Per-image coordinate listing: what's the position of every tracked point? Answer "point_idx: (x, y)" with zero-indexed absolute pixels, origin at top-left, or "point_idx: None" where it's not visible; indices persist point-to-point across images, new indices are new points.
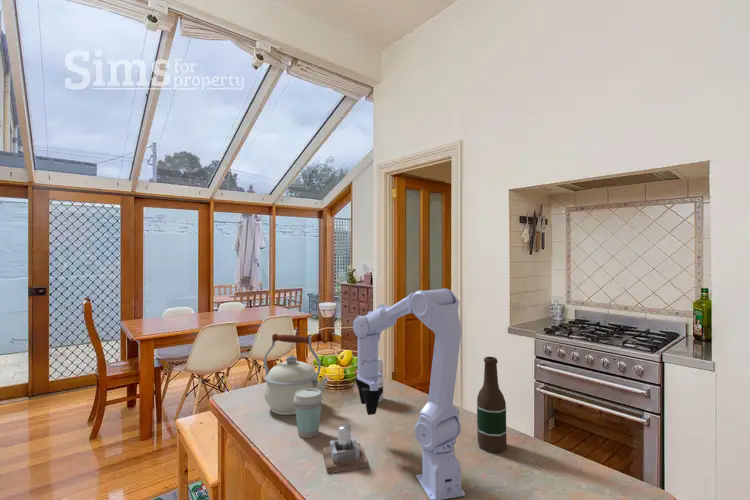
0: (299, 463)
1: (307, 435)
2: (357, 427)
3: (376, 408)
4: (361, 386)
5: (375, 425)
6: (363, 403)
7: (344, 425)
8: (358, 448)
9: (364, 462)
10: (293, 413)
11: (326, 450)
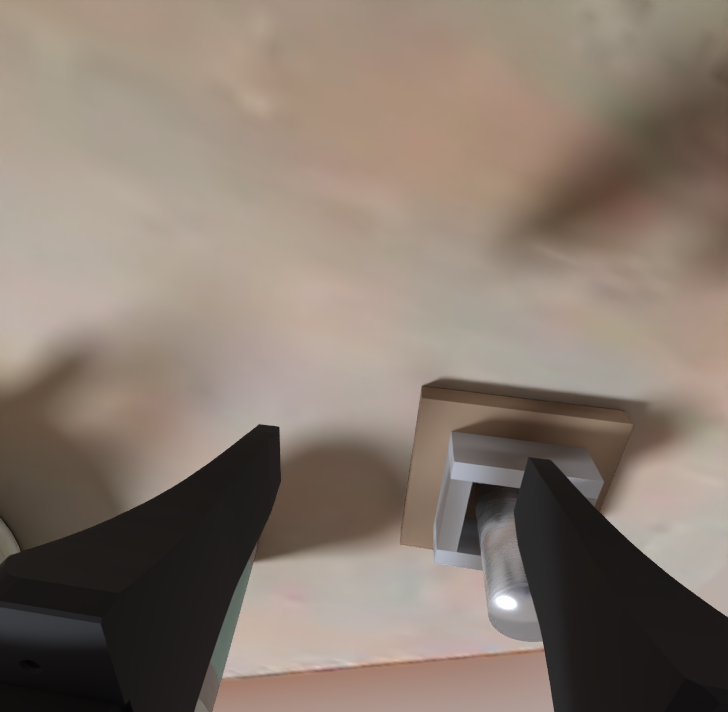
0: (451, 605)
1: (254, 556)
2: (184, 326)
3: (579, 492)
4: (202, 641)
5: (171, 214)
6: (279, 473)
7: (510, 609)
8: (584, 480)
9: (625, 437)
10: (16, 549)
11: (430, 538)
